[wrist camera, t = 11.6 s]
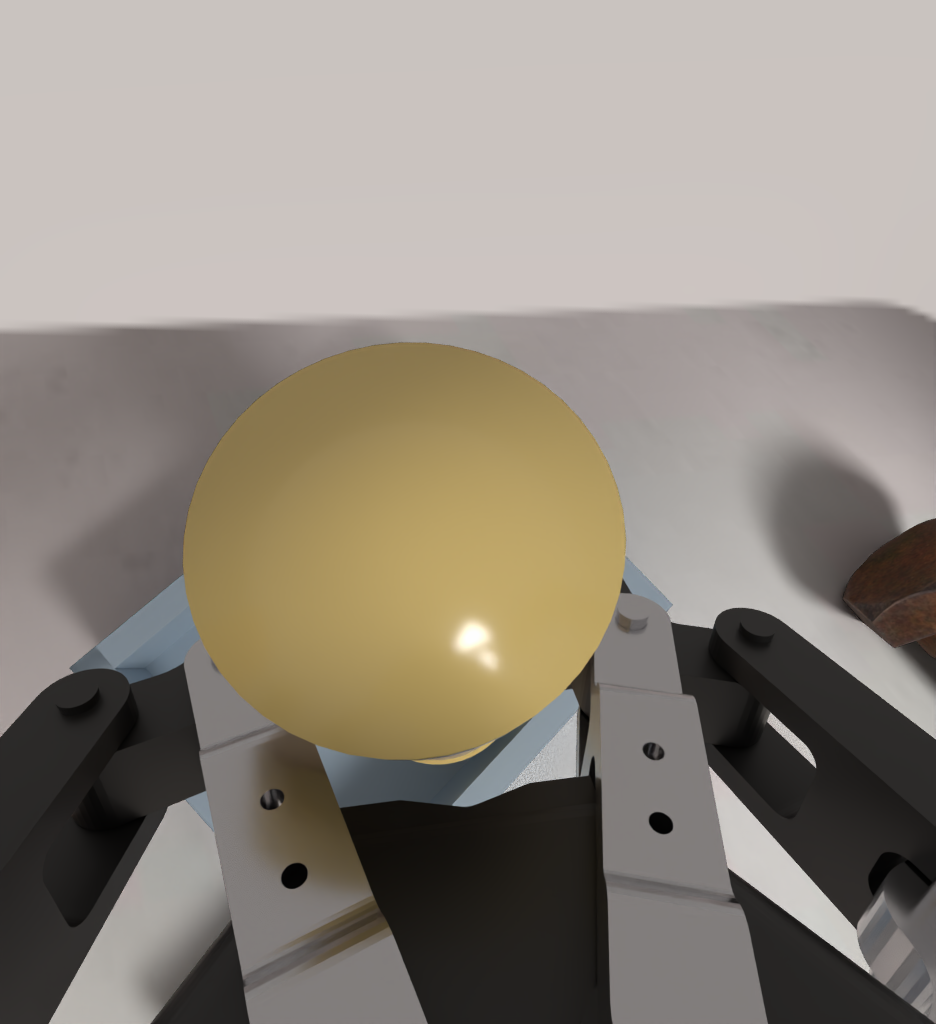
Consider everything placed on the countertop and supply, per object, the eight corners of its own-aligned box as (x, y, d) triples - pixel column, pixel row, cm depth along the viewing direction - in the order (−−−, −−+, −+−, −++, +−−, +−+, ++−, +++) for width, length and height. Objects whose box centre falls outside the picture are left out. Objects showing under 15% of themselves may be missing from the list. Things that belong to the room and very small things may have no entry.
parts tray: (430, 400, 23) (438, 363, 20) (634, 611, 23) (672, 604, 20) (113, 667, 20) (69, 668, 17) (344, 926, 19) (339, 973, 16)
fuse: (420, 576, 20) (363, 282, 8) (546, 658, 19) (700, 470, 7) (328, 703, 18) (85, 583, 6) (460, 799, 18) (468, 870, 6)
